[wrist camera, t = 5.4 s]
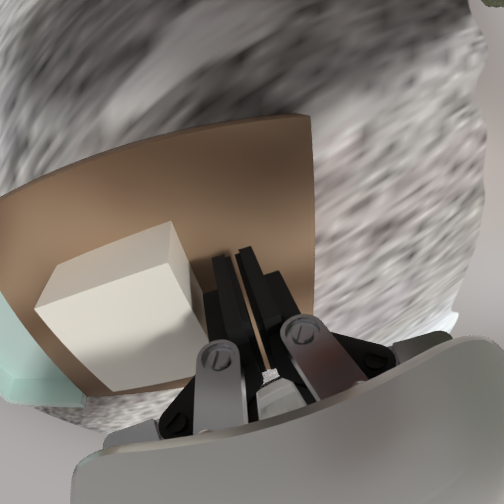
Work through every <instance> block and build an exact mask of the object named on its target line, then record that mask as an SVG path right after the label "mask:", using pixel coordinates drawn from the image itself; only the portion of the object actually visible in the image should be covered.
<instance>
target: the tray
mask: <svg viewBox="0 0 504 504" xmlns="http://www.w3.org/2000/svg"><path fill="white" fill-rule="evenodd" d="M0 396H1V397H2V398H4V399H5V400H6V401H7V402H8V403H12V404H21V405H32V406H46V407H86V400H87V396H86V395H85V394H84V393H83V392H82V391H81V390H79V389H78V388H77V387H76V386H75V385H74V384H73V383H72V382H71V381H70V380H69V379H68V378H67V376H66V375H65V374H64V373H63V372H62V371H61V370H60V369H59V368H58V367H57V366H56V365H55V364H54V362H53V361H52V360H51V359H50V358H49V357H48V356H47V354H46V353H45V352H44V351H43V350H42V349H41V347H40V346H39V345H38V344H37V342H36V341H35V340H34V339H33V337H32V336H31V335H30V334H29V332H28V331H27V330H26V328H25V327H24V326H23V324H22V323H21V321H20V320H19V319H18V317H17V316H16V314H15V313H14V311H13V310H12V309H11V307H10V306H9V304H8V303H7V301H6V299H5V298H4V296H3V295H2V293H1V291H0Z"/></svg>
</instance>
